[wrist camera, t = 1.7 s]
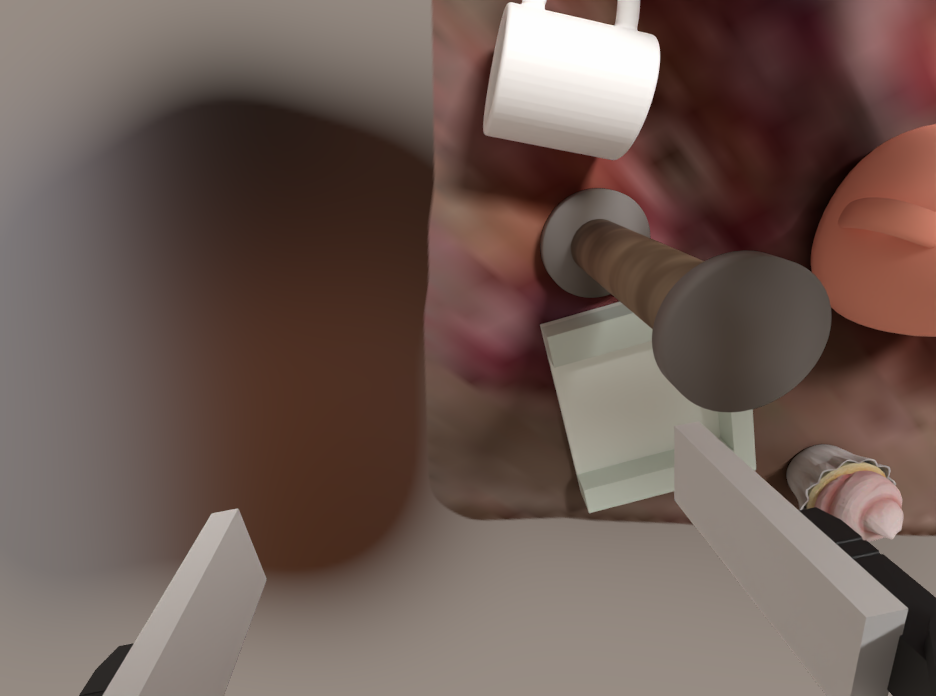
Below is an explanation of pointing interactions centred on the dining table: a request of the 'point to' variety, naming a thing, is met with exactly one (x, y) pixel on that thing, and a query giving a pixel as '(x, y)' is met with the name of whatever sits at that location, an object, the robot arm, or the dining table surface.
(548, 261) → the bobbin
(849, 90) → the dining table surface
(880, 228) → the teapot
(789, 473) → the cupcake
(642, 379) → the notched board
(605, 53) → the mug
